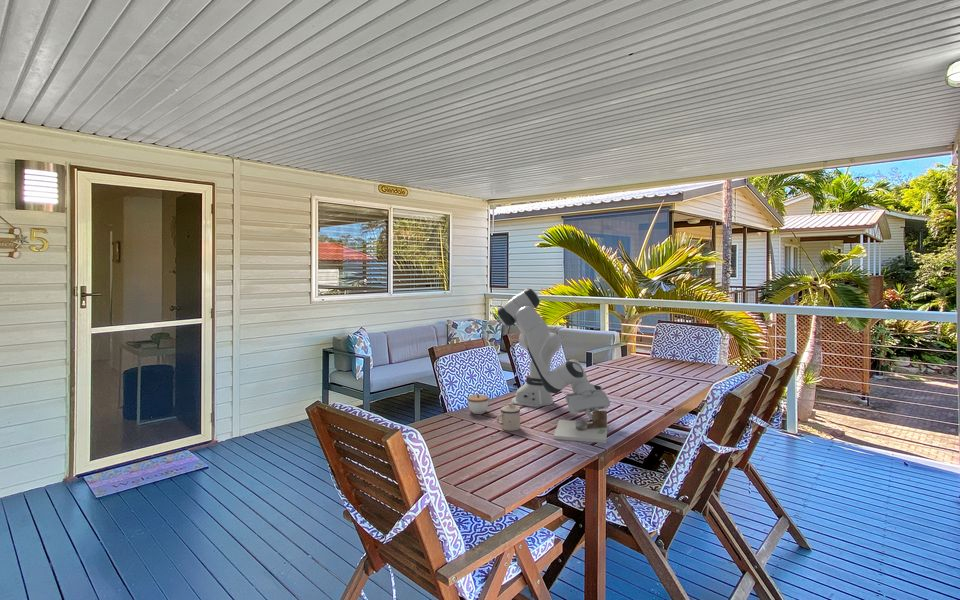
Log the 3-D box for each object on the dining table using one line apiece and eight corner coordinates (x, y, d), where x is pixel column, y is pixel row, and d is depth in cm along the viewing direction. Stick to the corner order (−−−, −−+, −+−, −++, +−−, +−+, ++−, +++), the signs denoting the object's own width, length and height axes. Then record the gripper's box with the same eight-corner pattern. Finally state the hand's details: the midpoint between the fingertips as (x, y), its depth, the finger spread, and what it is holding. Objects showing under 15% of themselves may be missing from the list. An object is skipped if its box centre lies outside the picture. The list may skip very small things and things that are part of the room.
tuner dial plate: (553, 439, 217) (553, 435, 217) (559, 422, 238) (559, 419, 238) (606, 443, 211) (606, 439, 211) (607, 426, 232) (607, 422, 232)
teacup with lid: (513, 423, 239) (513, 399, 238) (524, 428, 231) (524, 403, 230) (491, 428, 233) (491, 403, 232) (502, 433, 225) (502, 408, 224)
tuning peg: (577, 430, 222) (577, 414, 221) (574, 426, 227) (574, 411, 226) (608, 428, 224) (608, 412, 223) (603, 424, 229) (603, 409, 228)
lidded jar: (480, 407, 265) (480, 390, 264) (493, 412, 256) (492, 394, 255) (463, 411, 258) (463, 393, 257) (476, 416, 250) (475, 398, 249)
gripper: (566, 390, 229) (577, 418, 221) (604, 385, 236) (617, 412, 228) (561, 397, 234) (572, 425, 226) (599, 392, 241) (611, 418, 233)
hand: (595, 418), depth 227 cm, fingers closed
